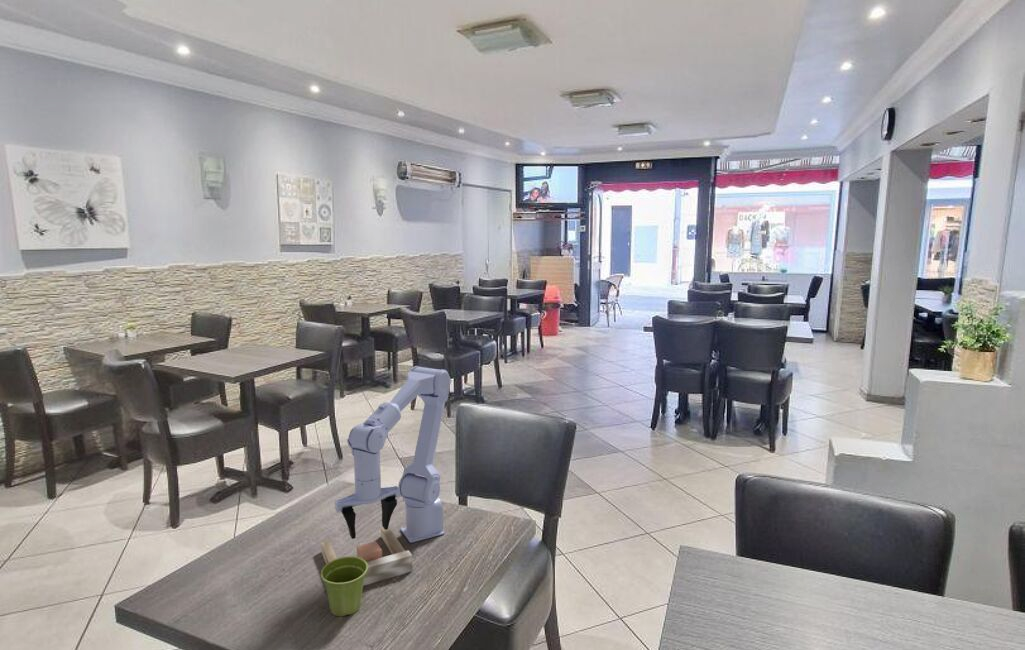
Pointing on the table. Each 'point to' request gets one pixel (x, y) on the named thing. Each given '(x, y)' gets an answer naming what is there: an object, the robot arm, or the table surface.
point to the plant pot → (344, 584)
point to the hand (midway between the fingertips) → (369, 532)
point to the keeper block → (369, 551)
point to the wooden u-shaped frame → (380, 559)
